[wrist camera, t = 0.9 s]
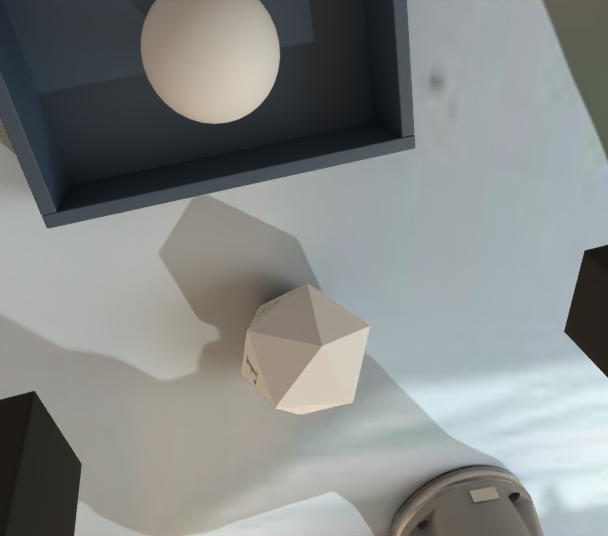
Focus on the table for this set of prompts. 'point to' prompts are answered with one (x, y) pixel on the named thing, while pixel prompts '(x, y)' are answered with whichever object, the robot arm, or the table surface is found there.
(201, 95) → the lightbulb
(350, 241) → the table surface
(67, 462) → the robot arm
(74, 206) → the tote
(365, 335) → the die
